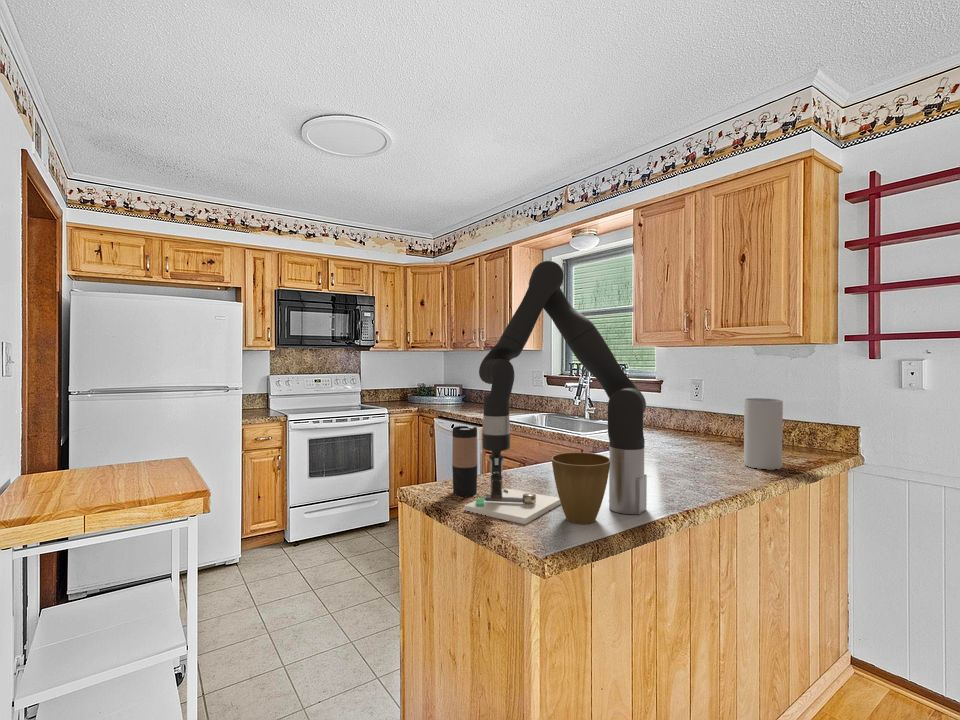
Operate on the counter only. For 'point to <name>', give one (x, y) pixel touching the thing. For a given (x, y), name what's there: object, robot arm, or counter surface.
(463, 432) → the travel mug
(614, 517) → the counter surface
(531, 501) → the dial lever
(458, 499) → the counter surface
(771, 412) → the cylinder vase
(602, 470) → the plant pot
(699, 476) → the counter surface
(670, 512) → the counter surface
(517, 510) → the square base plate
